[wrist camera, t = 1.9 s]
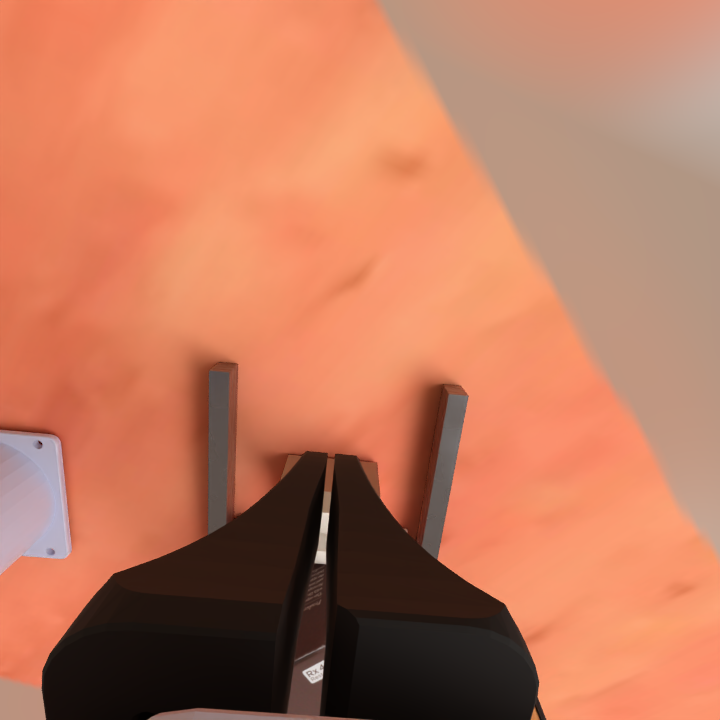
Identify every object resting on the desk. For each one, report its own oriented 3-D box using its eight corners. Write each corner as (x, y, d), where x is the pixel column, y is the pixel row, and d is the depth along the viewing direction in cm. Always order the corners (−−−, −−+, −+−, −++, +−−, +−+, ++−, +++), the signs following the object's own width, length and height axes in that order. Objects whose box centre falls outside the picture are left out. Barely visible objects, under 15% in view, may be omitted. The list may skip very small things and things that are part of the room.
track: (214, 695, 28) (206, 720, 26) (218, 362, 21) (209, 370, 20) (401, 708, 28) (404, 733, 27) (460, 386, 22) (468, 396, 21)
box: (306, 639, 26) (288, 783, 19) (251, 575, 25) (210, 705, 18) (386, 599, 26) (398, 734, 19) (334, 530, 24) (326, 648, 17)
